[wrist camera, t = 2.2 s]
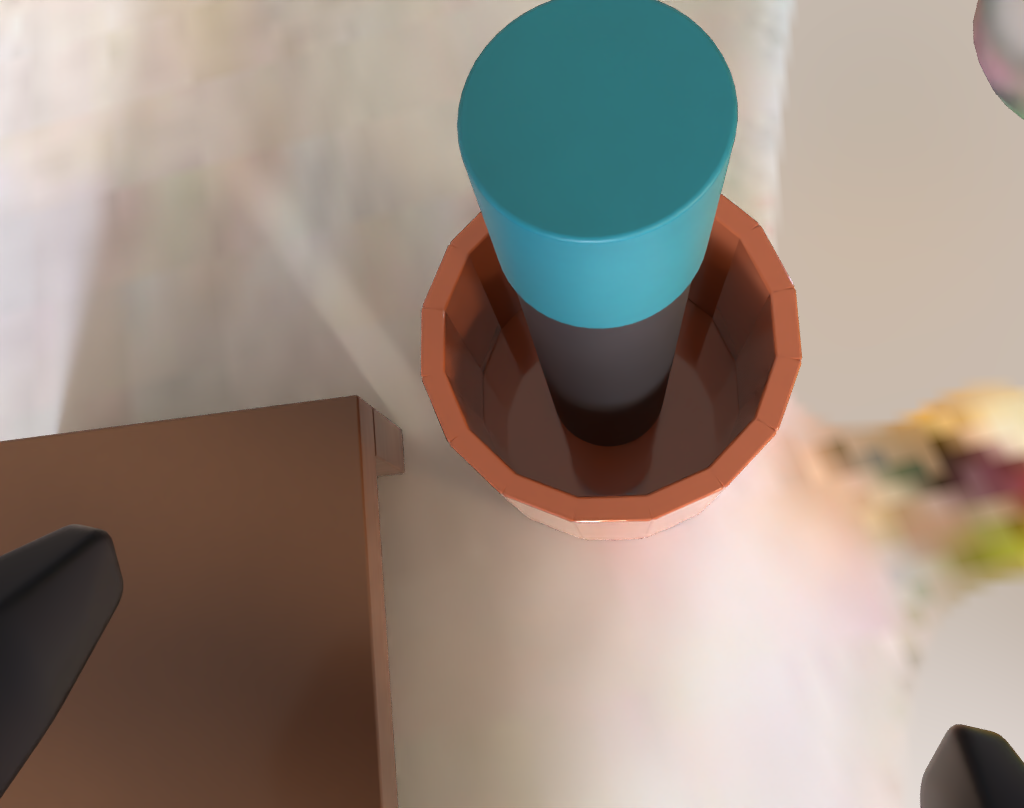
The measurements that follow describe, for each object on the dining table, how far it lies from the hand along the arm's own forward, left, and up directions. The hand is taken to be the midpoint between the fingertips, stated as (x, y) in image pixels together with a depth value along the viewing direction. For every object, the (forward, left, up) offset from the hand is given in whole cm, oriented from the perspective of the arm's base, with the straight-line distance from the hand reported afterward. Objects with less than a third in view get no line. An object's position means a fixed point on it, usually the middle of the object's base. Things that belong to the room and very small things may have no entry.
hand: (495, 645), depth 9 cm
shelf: (-7, +5, -12) cm, 15 cm away
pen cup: (+5, +3, -12) cm, 14 cm away
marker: (+5, +3, -12) cm, 13 cm away
